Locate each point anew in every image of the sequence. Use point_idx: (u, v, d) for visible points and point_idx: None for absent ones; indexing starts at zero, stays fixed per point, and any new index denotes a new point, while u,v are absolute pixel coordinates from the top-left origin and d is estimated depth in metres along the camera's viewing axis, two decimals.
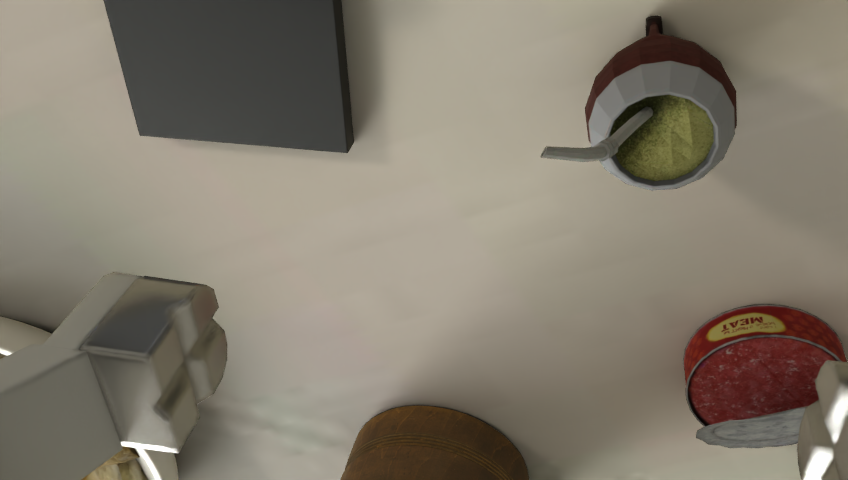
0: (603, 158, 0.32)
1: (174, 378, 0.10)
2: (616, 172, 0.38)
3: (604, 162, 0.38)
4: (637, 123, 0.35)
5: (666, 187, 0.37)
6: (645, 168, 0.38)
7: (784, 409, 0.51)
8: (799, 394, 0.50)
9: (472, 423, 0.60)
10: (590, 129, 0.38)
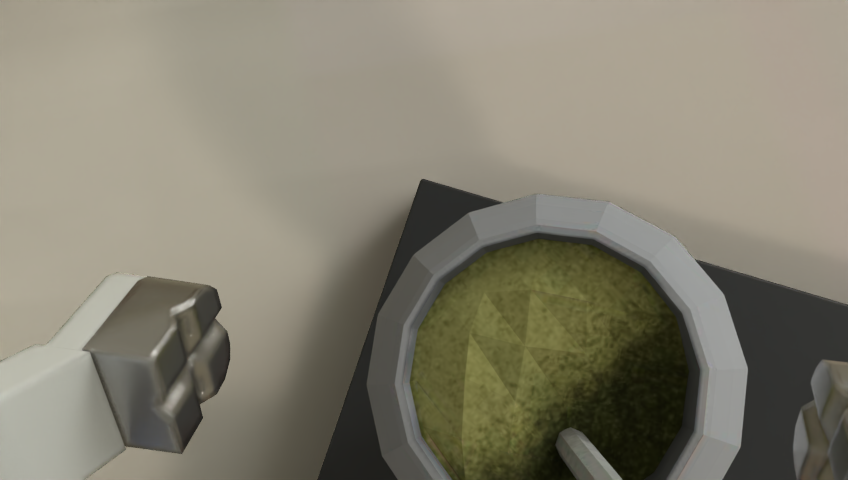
0: None
1: (177, 379, 0.10)
2: (692, 307, 0.12)
3: (721, 333, 0.13)
4: None
5: (559, 226, 0.13)
6: (607, 289, 0.13)
7: None
8: None
9: None
10: (738, 435, 0.13)
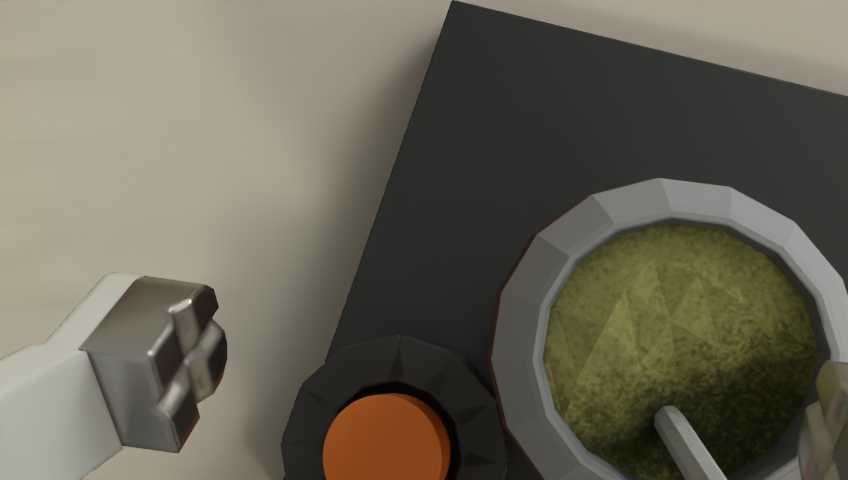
0: None
1: (174, 378, 0.10)
2: (842, 351, 0.13)
3: None
4: None
5: (751, 228, 0.13)
6: (766, 303, 0.14)
7: None
8: None
9: None
10: None
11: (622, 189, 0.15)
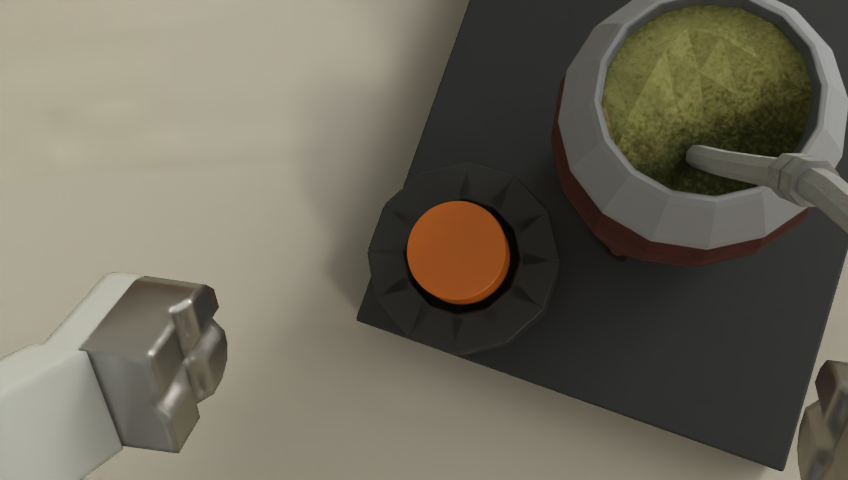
0: (819, 167, 0.12)
1: (174, 378, 0.10)
2: (830, 85, 0.17)
3: (838, 116, 0.18)
4: (716, 161, 0.16)
5: (762, 0, 0.18)
6: (773, 58, 0.18)
7: None
8: None
9: None
10: None
11: None
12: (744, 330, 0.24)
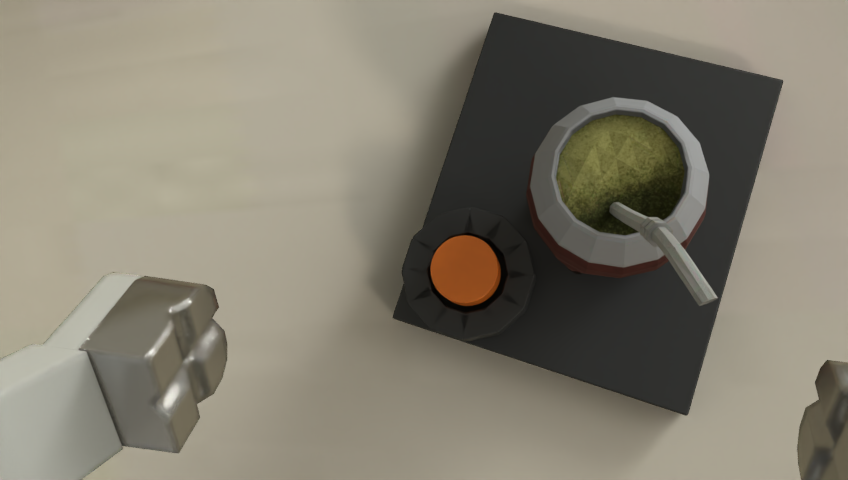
0: (662, 226, 0.23)
1: (174, 378, 0.11)
2: (693, 167, 0.28)
3: (700, 185, 0.29)
4: (622, 216, 0.27)
5: (652, 114, 0.29)
6: (661, 149, 0.29)
7: None
8: None
9: None
10: (688, 231, 0.29)
11: (594, 102, 0.31)
12: (661, 320, 0.35)
